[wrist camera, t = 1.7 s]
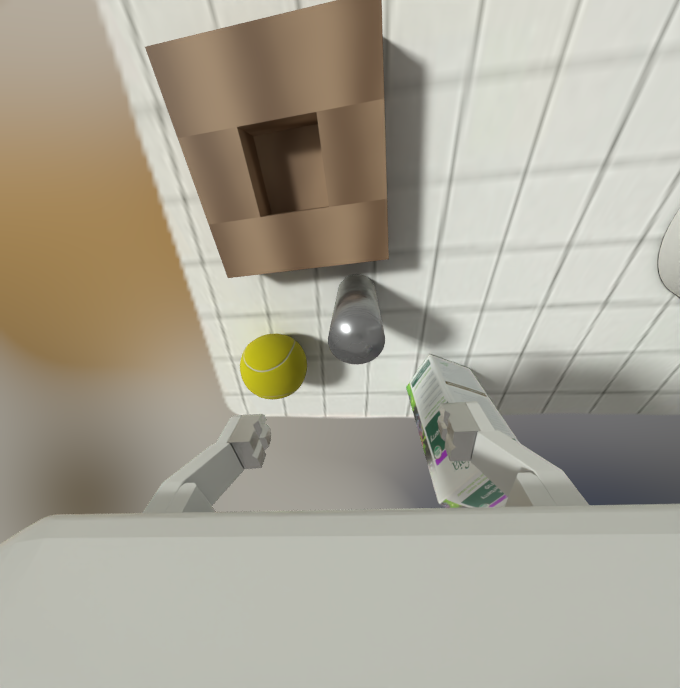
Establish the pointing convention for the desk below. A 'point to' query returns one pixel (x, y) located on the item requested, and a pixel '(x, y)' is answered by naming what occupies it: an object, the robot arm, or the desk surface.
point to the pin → (356, 322)
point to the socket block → (285, 135)
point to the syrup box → (448, 476)
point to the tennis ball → (273, 366)
